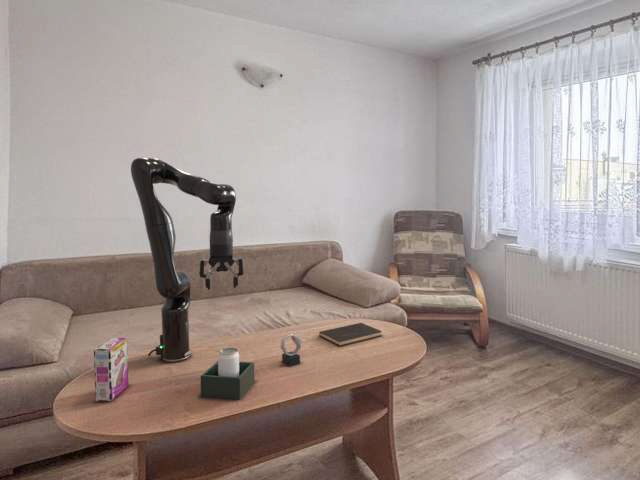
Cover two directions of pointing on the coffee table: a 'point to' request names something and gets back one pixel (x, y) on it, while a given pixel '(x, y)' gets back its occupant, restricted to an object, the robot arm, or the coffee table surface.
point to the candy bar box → (111, 369)
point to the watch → (291, 357)
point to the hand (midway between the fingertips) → (221, 288)
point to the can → (228, 362)
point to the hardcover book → (350, 334)
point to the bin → (227, 382)
